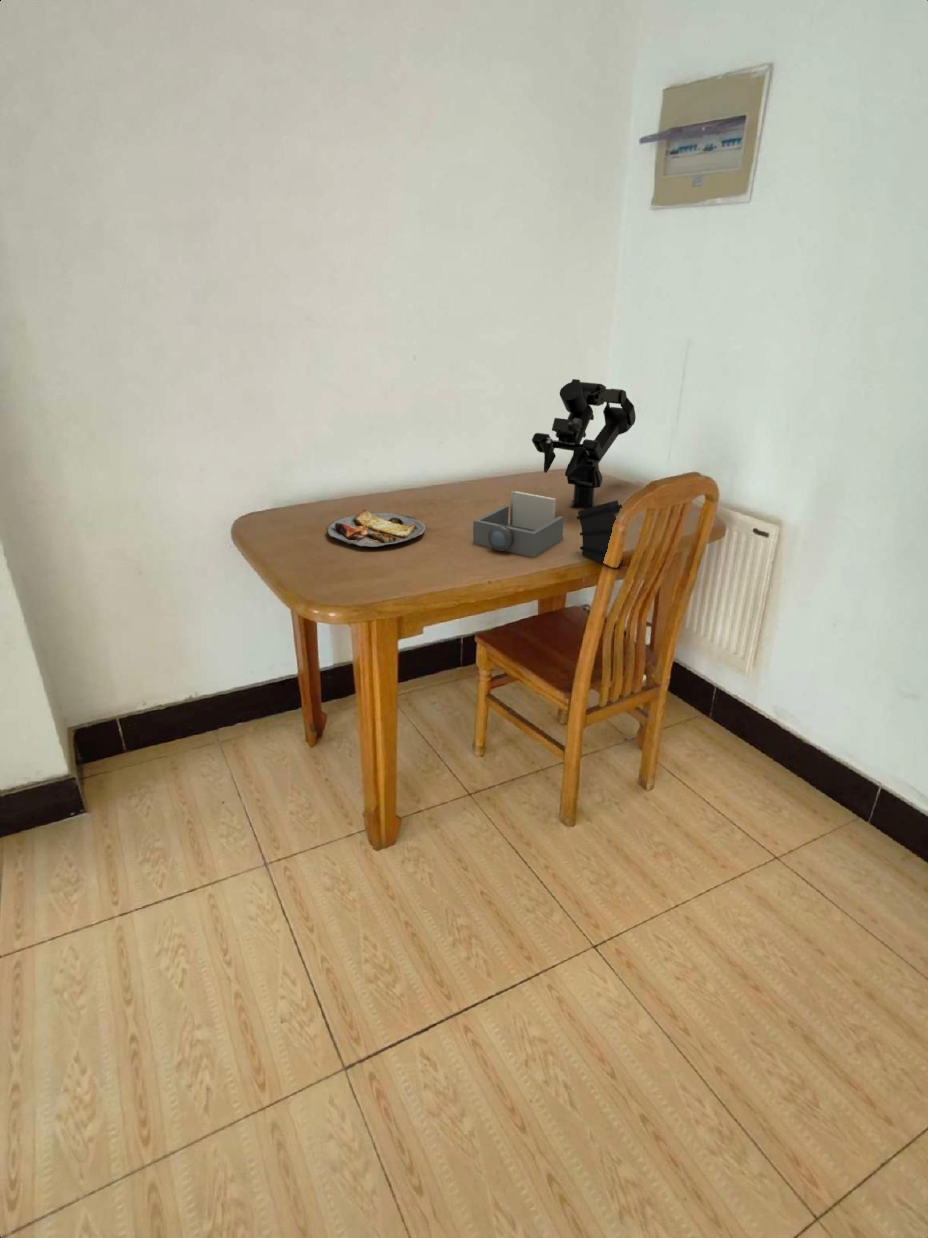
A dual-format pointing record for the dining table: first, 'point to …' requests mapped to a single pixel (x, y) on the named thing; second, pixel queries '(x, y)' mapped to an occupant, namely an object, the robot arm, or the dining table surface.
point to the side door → (531, 510)
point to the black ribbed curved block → (598, 529)
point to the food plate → (375, 528)
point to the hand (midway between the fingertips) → (555, 473)
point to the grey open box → (515, 534)
